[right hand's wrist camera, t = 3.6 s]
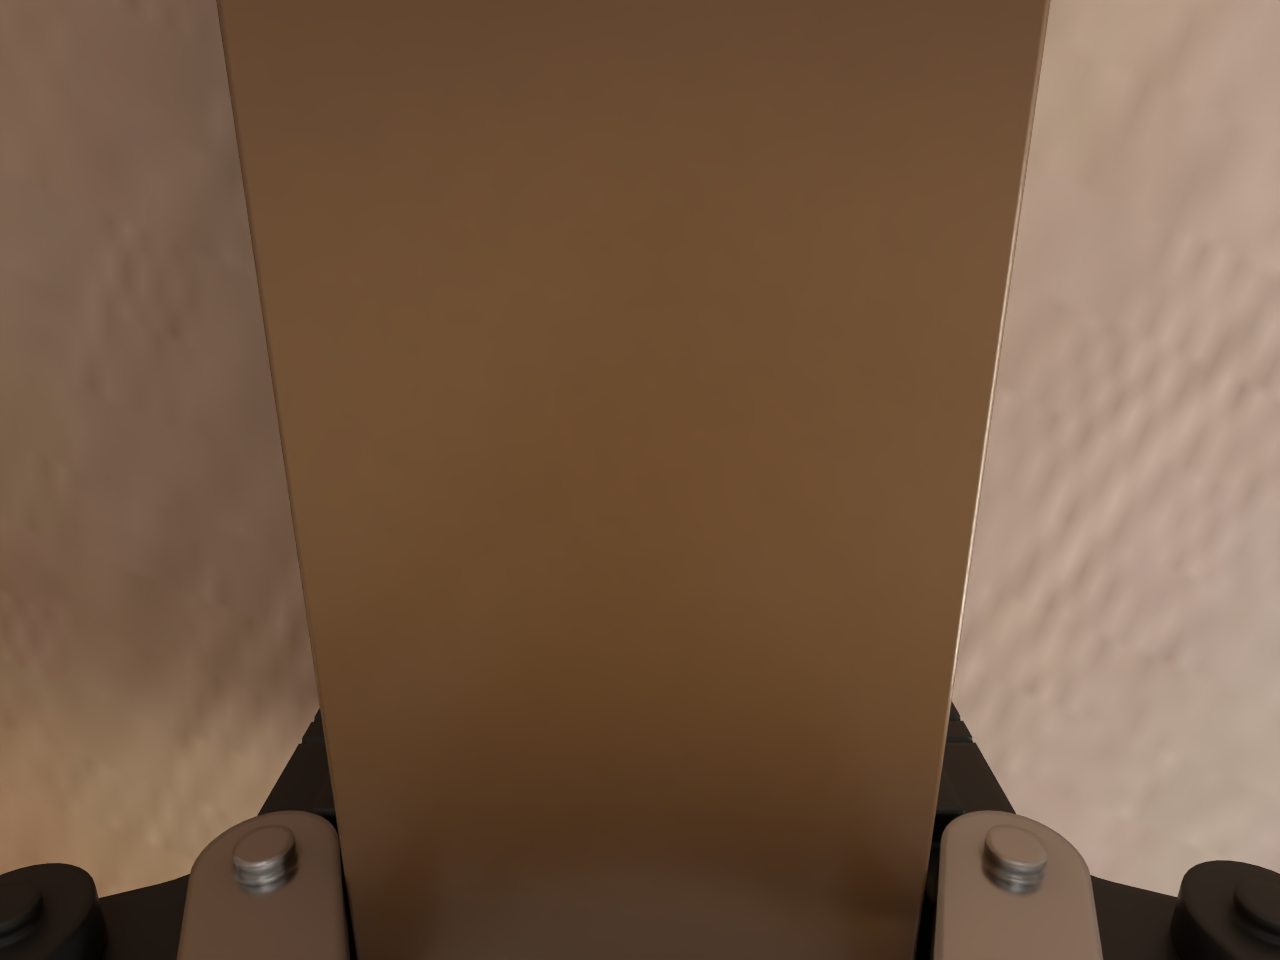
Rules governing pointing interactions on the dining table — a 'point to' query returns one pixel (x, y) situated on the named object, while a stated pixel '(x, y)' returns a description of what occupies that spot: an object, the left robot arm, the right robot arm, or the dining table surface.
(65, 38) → the dining table surface
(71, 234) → the dining table surface
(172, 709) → the dining table surface
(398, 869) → the bar
